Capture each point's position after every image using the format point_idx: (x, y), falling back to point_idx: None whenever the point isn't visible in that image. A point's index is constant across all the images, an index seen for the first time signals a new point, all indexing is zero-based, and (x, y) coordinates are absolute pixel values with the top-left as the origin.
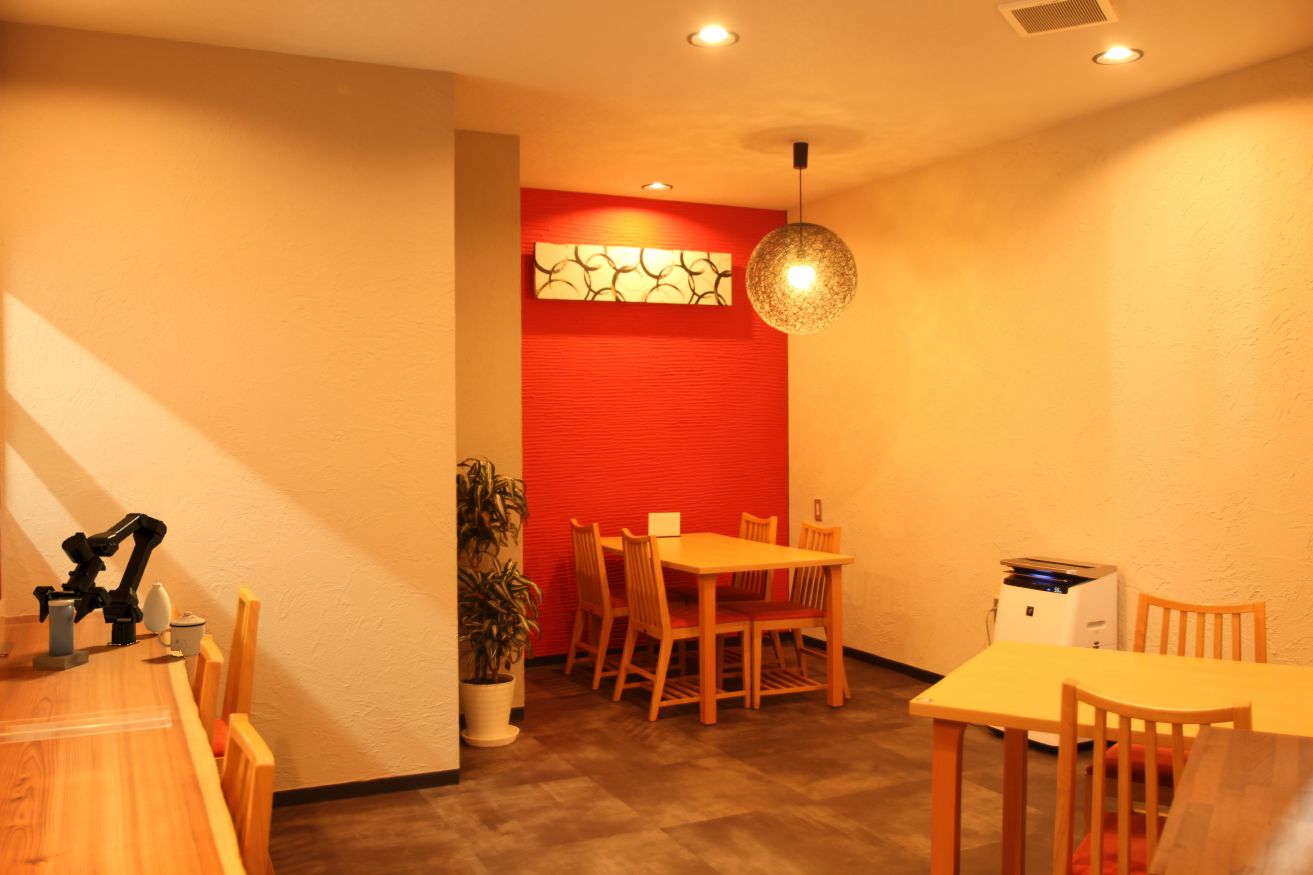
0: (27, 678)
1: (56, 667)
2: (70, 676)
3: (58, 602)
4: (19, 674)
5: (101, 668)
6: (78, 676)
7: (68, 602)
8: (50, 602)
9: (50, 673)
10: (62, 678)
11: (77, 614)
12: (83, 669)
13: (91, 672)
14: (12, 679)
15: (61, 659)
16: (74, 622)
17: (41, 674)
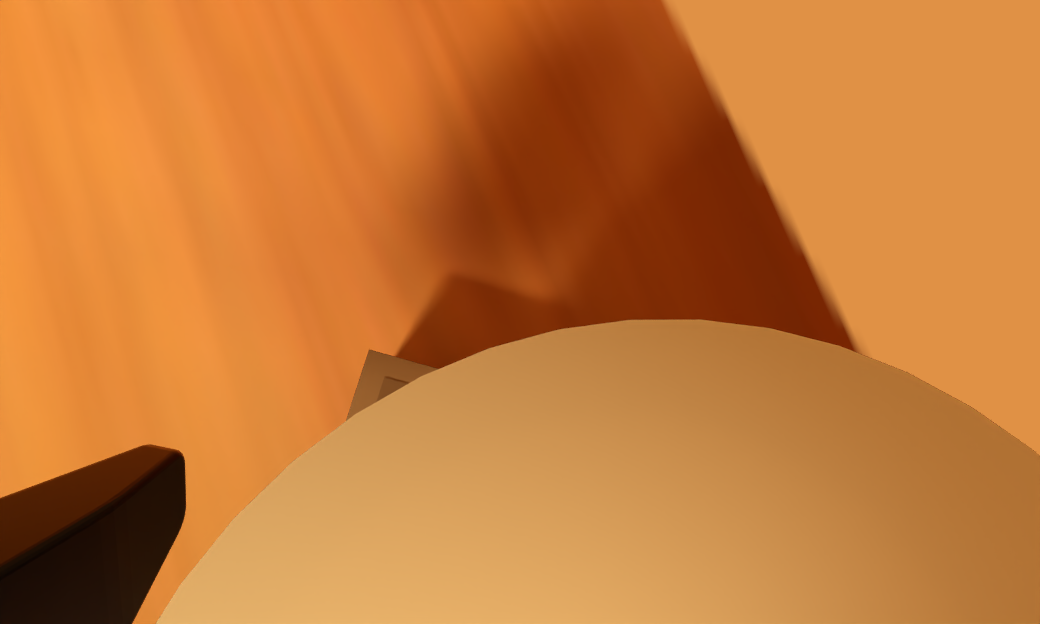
0: (580, 78)
1: None
2: (225, 98)
3: (571, 328)
4: (733, 245)
5: (24, 405)
6: (151, 88)
7: (203, 567)
8: (957, 408)
9: (461, 246)
10: (269, 34)
11: (32, 501)
12: (200, 381)
13: (77, 233)
14: (691, 61)
15: (410, 364)
16: (177, 470)
17: (528, 216)
